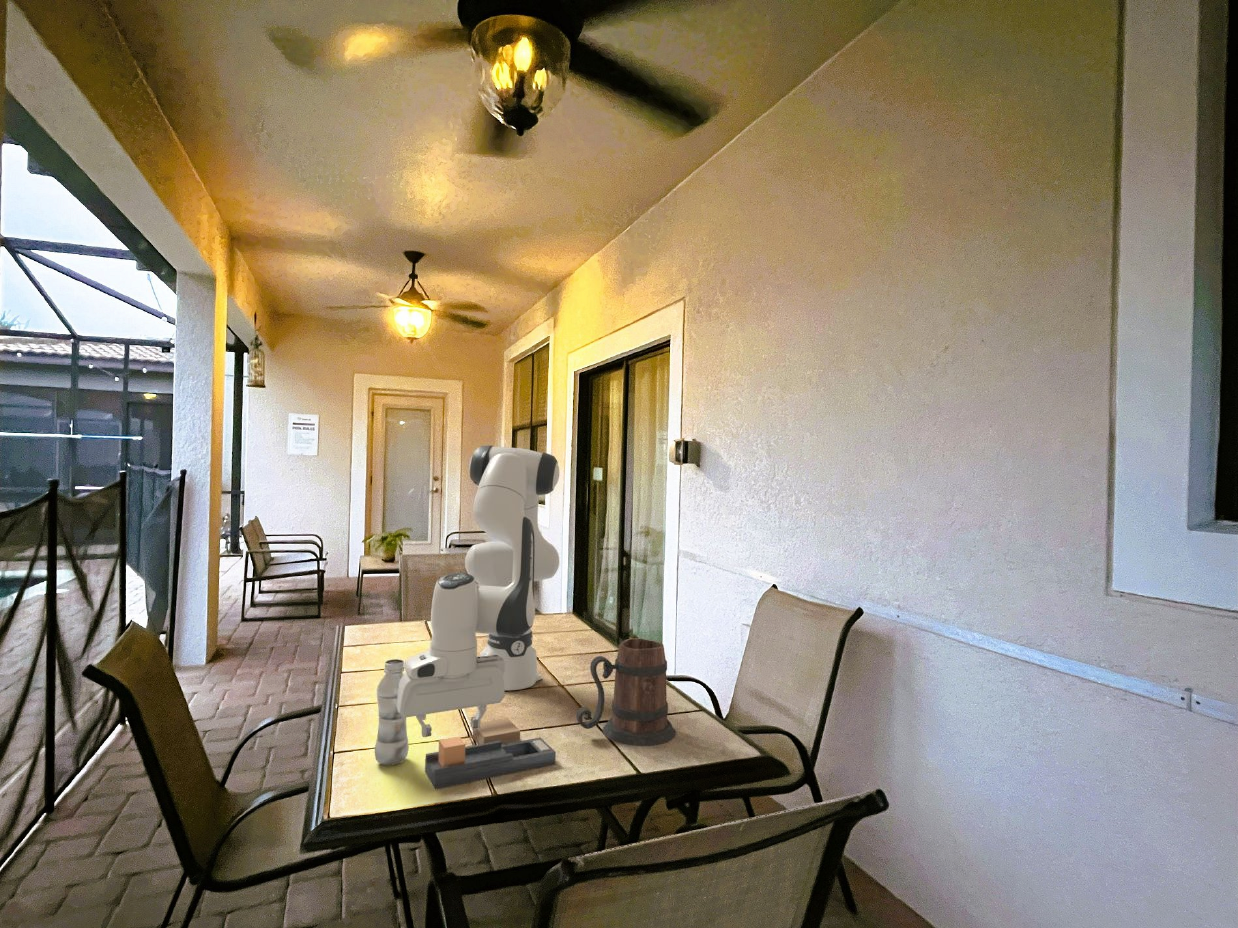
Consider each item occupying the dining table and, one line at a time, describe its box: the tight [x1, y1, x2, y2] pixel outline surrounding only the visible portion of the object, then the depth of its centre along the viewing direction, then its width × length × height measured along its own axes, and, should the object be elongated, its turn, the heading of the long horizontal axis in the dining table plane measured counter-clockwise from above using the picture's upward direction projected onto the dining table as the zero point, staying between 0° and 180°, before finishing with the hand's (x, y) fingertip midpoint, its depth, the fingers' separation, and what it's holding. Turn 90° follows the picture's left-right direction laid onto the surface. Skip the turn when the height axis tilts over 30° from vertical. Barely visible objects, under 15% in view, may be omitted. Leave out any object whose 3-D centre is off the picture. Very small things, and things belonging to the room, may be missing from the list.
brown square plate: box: [472, 717, 521, 745], centre depth 143 cm, size 8×8×3 cm
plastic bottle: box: [374, 658, 410, 766], centre depth 132 cm, size 6×7×20 cm
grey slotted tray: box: [424, 737, 557, 790], centre depth 130 cm, size 8×24×4 cm, turn 119°
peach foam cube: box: [438, 736, 466, 766], centre depth 126 cm, size 4×4×4 cm
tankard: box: [576, 637, 677, 747], centre depth 150 cm, size 24×17×20 cm
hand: (451, 731), depth 127 cm, fingers open, 8 cm apart
